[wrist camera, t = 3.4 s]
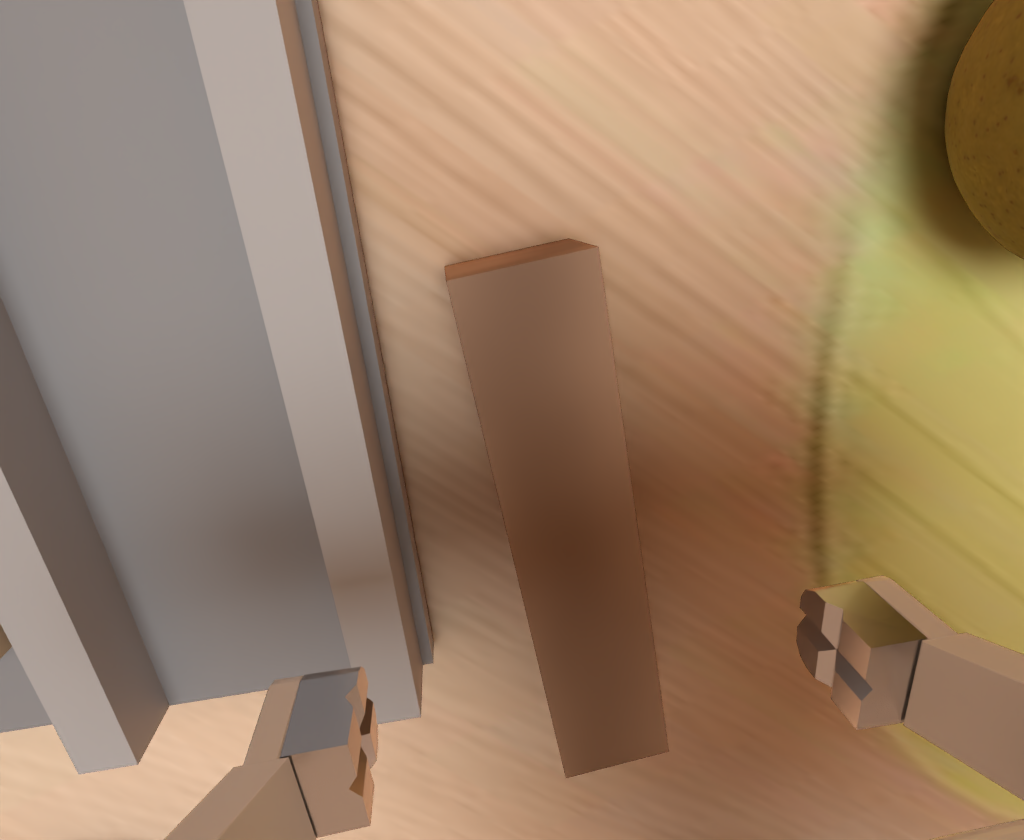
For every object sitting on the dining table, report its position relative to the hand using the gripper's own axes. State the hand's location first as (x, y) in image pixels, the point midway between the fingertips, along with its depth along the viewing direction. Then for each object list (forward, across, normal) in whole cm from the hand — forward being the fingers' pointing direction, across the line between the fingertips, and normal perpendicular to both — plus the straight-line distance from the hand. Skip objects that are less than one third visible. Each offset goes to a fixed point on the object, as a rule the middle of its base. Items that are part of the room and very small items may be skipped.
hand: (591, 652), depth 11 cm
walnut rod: (+6, +1, 0) cm, 6 cm away
